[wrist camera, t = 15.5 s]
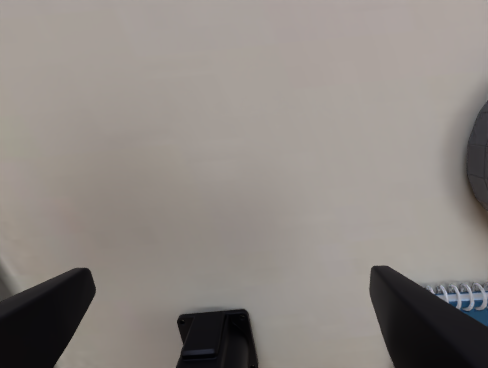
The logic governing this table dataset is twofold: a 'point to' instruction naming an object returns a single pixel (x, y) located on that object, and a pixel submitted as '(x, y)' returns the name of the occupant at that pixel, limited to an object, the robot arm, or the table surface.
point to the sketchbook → (467, 300)
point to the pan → (479, 157)
